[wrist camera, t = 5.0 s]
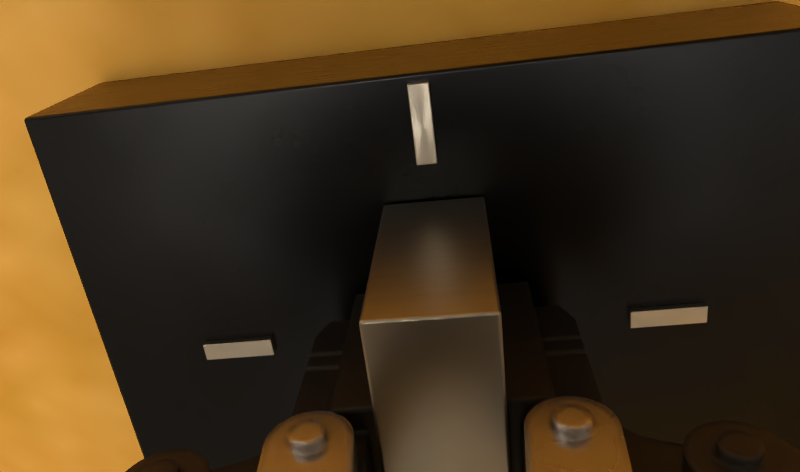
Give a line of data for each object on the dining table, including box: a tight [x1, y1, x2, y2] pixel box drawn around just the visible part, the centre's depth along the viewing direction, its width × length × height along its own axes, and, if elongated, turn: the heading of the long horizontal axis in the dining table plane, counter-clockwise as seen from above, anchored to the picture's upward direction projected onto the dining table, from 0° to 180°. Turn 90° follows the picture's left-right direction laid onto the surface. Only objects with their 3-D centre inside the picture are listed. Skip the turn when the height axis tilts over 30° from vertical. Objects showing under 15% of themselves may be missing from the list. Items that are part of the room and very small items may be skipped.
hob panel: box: [25, 1, 800, 470], centre depth 15 cm, size 14×10×3 cm
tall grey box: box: [359, 197, 511, 472], centre depth 11 cm, size 6×2×4 cm, turn 7°
